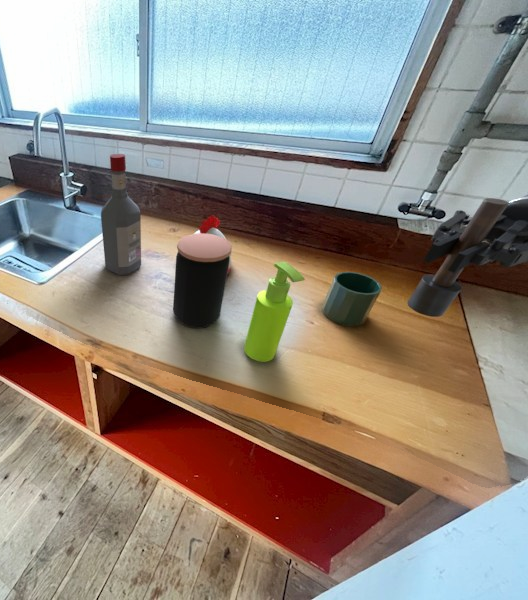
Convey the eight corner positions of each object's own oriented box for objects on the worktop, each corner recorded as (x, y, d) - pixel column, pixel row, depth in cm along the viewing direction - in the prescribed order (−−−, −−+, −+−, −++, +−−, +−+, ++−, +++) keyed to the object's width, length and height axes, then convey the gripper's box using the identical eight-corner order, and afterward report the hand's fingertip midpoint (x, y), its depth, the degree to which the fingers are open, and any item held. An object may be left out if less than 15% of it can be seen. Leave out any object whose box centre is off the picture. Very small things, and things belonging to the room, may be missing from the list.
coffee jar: (228, 312, 74) (242, 242, 64) (203, 337, 68) (213, 264, 57) (189, 295, 80) (196, 228, 69) (163, 316, 74) (166, 246, 63)
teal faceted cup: (373, 318, 71) (391, 286, 66) (348, 331, 68) (364, 299, 63) (337, 298, 77) (351, 268, 72) (313, 309, 74) (325, 278, 69)
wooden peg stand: (450, 311, 52) (529, 203, 41) (433, 320, 51) (511, 210, 40) (417, 295, 56) (483, 192, 45) (400, 304, 54) (464, 199, 43)
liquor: (145, 264, 93) (145, 154, 75) (124, 278, 88) (118, 162, 70) (122, 255, 98) (116, 149, 80) (101, 267, 93) (89, 157, 75)
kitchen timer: (170, 266, 92) (172, 216, 83) (200, 250, 99) (205, 202, 90) (210, 286, 83) (218, 233, 74) (239, 266, 90) (250, 215, 81)
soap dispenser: (256, 368, 61) (284, 281, 49) (238, 343, 66) (259, 259, 54) (284, 362, 62) (317, 275, 50) (264, 338, 67) (289, 254, 55)
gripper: (573, 262, 49) (496, 309, 41) (454, 226, 60) (375, 257, 52) (616, 215, 45) (539, 258, 37) (479, 185, 56) (397, 213, 48)
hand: (443, 258), depth 45 cm, fingers closed on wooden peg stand, 2 cm apart
